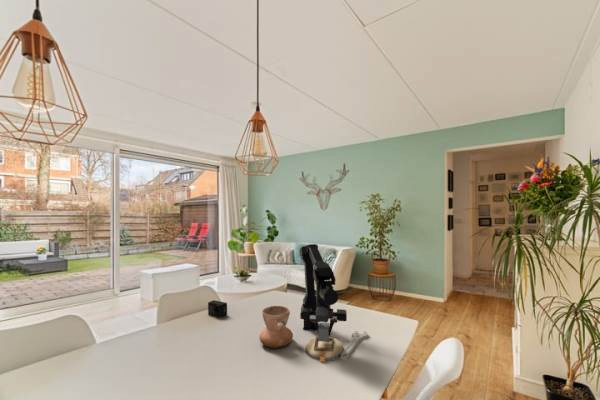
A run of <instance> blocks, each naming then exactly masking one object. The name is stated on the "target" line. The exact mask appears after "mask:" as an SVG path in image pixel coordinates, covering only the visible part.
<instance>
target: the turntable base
mask: <svg viewBox="0 0 600 400" xmlns="http://www.w3.org/2000/svg"><path fill="white" fill-rule="evenodd" d="M344 350H345V348H344V347H343V351H344ZM304 353H305V355H307V357H308V358H311V359H313V360H316V361H317V360H318V361H319V362H320V363H325V362H326V361H327V362H329V361H334V360H337V359H341V354H340V355H339V356H337V357H334V358H329V359H325V356H323V355H320V358H316V357H313V356H311V355H310V354H308V353H307V351H306V347H304Z"/></svg>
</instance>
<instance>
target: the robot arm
mask: <svg viewBox="0 0 600 400" xmlns="http://www.w3.org/2000/svg"><path fill="white" fill-rule="evenodd" d="M298 250H299V251H298V252H299V256H300V260H301V261H302V263H303V265H304V266H303V267H304V284H305V287H304V288H305V295H304V297H303V299H302V305H301V308H300V314H299V317H300V319H301V320H303V327H302V330H304V331H316V334H318V328H319V324H320V322H321V323H329V337H330V336H331V335H332V330H333V327H334V326H335V323H336V324H337V323H338V322H347V315H348V314H347V310H346V309H343V308H342V309H341V308H340V309H336V311H334V308H331V306H333V305H336V303H337V302H338V300H339V295H338V292H337V291H336V290H335V289H334V285H336V276H335V273H334V271H333V269H332V268H331V266H330V264H329V263H327V262H326V261H324V258H323V257H322V255H321V252H320V250H319V245H318V244H316V243H314V244H313V243H312V244H306V245H305V246H301V247H300V248H299V249H298ZM329 320H330V321H329Z"/></svg>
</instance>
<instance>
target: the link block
mask: <svg viewBox="0 0 600 400" xmlns="http://www.w3.org/2000/svg"><path fill="white" fill-rule="evenodd" d="M329 326H330V322H319V328H318V333H317V337H318V340H319V341H324V342H329V337H330V336H329Z"/></svg>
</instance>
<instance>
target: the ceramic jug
mask: <svg viewBox="0 0 600 400" xmlns="http://www.w3.org/2000/svg"><path fill="white" fill-rule="evenodd" d="M261 313H262V319H263V322H264V325H265V326H266V327H265V328H264V329H262V331H260V333H259V342H260V343H261V344H262V345H263V346H265V347H269V348H277V349H278V348H281V347H285V346H287V345H288V344H290V343H291V341H292V340H293V338H294V335H293V331H292V330H291V329H290V328H289V327H287V323H288V321H289V317H290V313H291V309H290V308H288V307H285V306H282V305H270V306H267V307H264V308H263V309H262V312H261Z"/></svg>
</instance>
